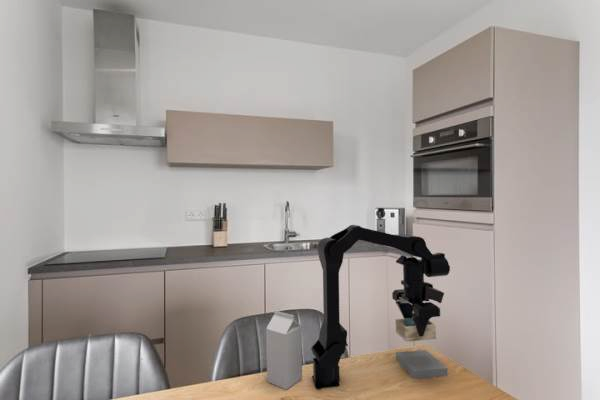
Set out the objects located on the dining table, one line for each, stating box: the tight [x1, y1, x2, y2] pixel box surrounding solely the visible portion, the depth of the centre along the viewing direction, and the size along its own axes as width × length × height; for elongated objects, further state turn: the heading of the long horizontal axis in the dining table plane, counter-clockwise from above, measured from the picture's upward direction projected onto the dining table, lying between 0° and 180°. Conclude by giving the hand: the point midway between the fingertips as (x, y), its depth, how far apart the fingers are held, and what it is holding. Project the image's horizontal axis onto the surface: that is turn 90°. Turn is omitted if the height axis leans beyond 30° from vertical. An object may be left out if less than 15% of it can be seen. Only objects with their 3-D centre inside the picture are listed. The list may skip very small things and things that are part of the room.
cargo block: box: [405, 317, 415, 327], centre depth 101 cm, size 4×4×4 cm
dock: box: [395, 349, 448, 380], centre depth 102 cm, size 10×12×2 cm
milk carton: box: [265, 310, 303, 390], centre depth 96 cm, size 7×7×19 cm
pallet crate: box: [395, 317, 437, 343], centre depth 101 cm, size 9×7×4 cm
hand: (415, 331), depth 101 cm, fingers closed on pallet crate, 7 cm apart
